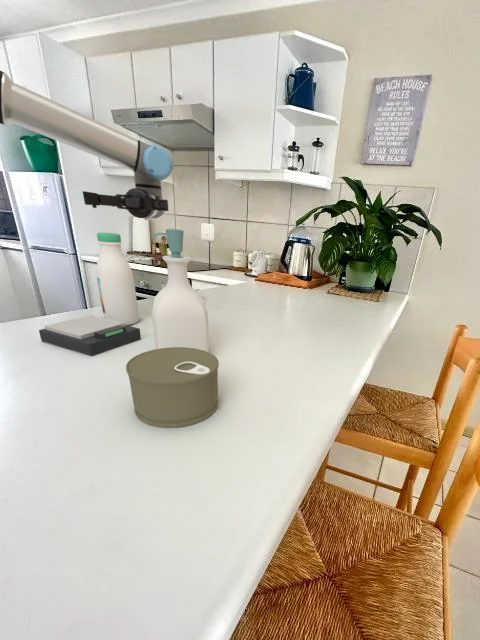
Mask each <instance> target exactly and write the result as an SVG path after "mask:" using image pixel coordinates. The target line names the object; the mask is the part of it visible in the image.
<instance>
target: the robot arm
mask: <svg viewBox="0 0 480 640" xmlns="http://www.w3.org/2000/svg"><path fill="white" fill-rule="evenodd" d="M11 124H14V125H17V126H18V127H22V128H24V129H26V130H30V131H32V132H33V133H37V134H39V135H42V136H43V137H47V138H49V139H52V140H54V141H57V142H59V143H62V144H65V145H67V146H69V147H72V148H74V149H76V150H79V151H82V152H84V153H87V154H90V155H92V156H94V157H97V158H99V159H102V160H104V161H107V162H108V163H109V162H110V163H113V164H114V165H117V166H120V167H123V168H125V169H127V170H130V171H132V172H133V176H134V183H135V187H133V188H130V189H128V191H126V193H124V194H119V193H115V195H112V194H111V195H109V194H100V193H97V192H92V191H84V190H83V191H82V196H83V201H84V205H86V206H92V209H97V206H106V207H107V206H108V207H117V209H118V210H126V211H128V213H129V214H130V215H131V216H133V217H135V218H137V219H144V221H148V220H149V219H158V218H160V217H162V216H163V215H164V214H165V212H169V201H168V199H164V198H163V192H162V191H163V190H162V181H165V180H166V179H168V178H169V177H170V175H171V174H172V172H173V166H174V165H173V160H172V157H171V155H170V154H169V152H168V151H167V150H166V149H165V148H163V147H161V146H160V145H152V144H148V143H146V142H144V141H141V140H139V139H137V138H135V137H133V136H131V135H128V134H126V133H124V132H122V131H120V130H118V129H116V128H113V127H111V126H109V125H106V124H105V123H103V122H101V121H98V120H96V119H94V118H91V117H89V116H88V115H85V114H83V113H80V112H78V111H76V110H74V109H72V108H70V107H68V106H66V105H63V104H62V103H60V102H57V101H54V100H52V99H51V98H48V97H45V96H44V95H41V94H40V93H37V92H35V91H33V90H31V89H28V88H26V87H24V86H22V85H19V84H17V83H15V82H14V81H12V79H11V78H10V76H9V75H8V74H7V72H4V71H3V70H0V125H3V126H6V127H7V126H9V125H11Z"/></svg>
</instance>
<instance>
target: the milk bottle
mask: <svg viewBox="0 0 480 640" xmlns="http://www.w3.org/2000/svg"><path fill="white" fill-rule="evenodd" d="M96 237H97V238H96V239H97V241H98V242H97V243H98V244H99V249H100V250H99V256H98V259H97V262H96V269H95V274H96V281H97V286H98V287H97V288H98V294H99V299H100V304H101V309H102V314H103V315H102V316H103V318H106V319H110V320H115V321H119V322H123V323H125V325H127V326H130V325H135V324H137V323H139V321H140V314H139V307H138V301H137V292H136V285H135V279H134V273H133V271H132V268H131V265H130V263H129V262H128V260H127V258H126V256H125V254H124V253H123V250H122V237H121V234H120V233H117V232H116V233H114V232H97V233H96Z"/></svg>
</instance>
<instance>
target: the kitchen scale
mask: <svg viewBox="0 0 480 640" xmlns="http://www.w3.org/2000/svg"><path fill="white" fill-rule="evenodd" d="M38 333H39V336H40V339H41V342H43V343H46V344H50V345H53V346H57V347H60V348H64V349H67V350H70V351H74V352H77V353H79V354H83V355H87V356H90V357H93V356H96V355H99V354H102V353H104V352H107V351H111V350H113V349H116V348H119V347H122V346H125V345H128V344H130V343H133V342H136V341H139V340H141V339H142V335H141V329H140V328H139V327H135V326H130V325H125V323H123V322H119V321H115V320H110V319H106V318H104V317H101V316H97V315H94V314H89V315H86V316H81V317H77V318H73V319H68V320H64V321H59V322H54V323H51V324H46V325H44V328H42V329H41V328H40V329H38Z"/></svg>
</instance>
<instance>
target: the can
mask: <svg viewBox="0 0 480 640" xmlns="http://www.w3.org/2000/svg"><path fill="white" fill-rule="evenodd" d="M219 364H220V363H219V359H218V358H217V356H216V355H215V354H213V353H211V352H210V351H209V352H207V351H204V350H200V349H195V348H186V347H170V348H161V349H156V348H155V349H151V350H147V351H143V352H141V353H139V354H137V355H135V356H133V357H131V358H130V359H129V360H128V362H127V363H126V365H125V371H126V374H127V376H128V380H129V386H130V391H131V397H132V402H133V408H134V414H135V416H136V418H137V419H138V420H139V421H141V422H143V423H144V424H147V425H149V426H153V427H158V428H169V429H171V428H182V427H189V426H192V425H195V424H199V423H201V422H202V421H205V420H206V419H209V418H210V417H211V416H212V415H214V414H215V412H216V411H217V410H218V408H219V407H218V406H219V398H218V397H219V382H218V381H219V379H218V378H219V377H218V376H219V375H218V374H219V373H218V372H219V368H220V367H219V366H220V365H219Z"/></svg>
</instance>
